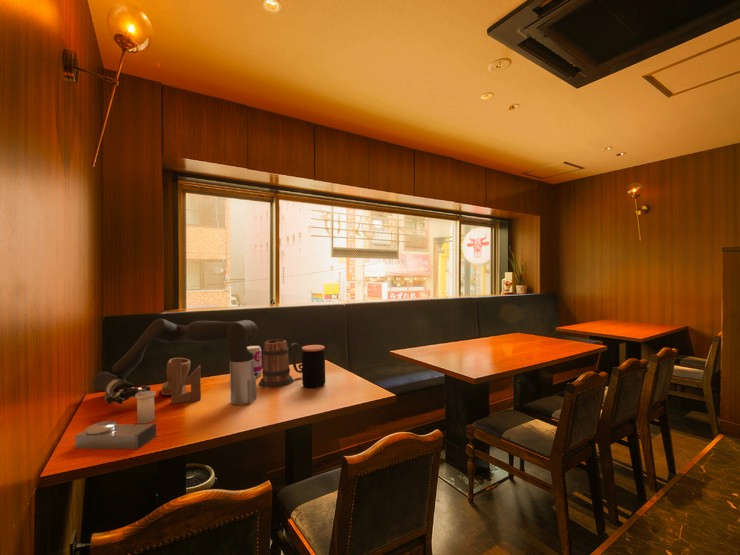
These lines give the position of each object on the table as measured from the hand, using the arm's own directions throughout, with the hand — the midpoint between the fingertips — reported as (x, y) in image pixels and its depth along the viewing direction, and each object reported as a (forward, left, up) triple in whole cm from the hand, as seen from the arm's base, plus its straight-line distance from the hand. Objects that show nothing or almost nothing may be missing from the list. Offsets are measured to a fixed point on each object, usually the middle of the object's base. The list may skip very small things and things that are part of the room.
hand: (134, 397), depth 134 cm
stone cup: (0, -26, -6) cm, 26 cm away
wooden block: (-12, -14, -6) cm, 19 cm away
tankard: (-44, -42, -6) cm, 61 cm away
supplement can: (-26, -50, -6) cm, 56 cm away
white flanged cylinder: (-9, +6, -6) cm, 13 cm away
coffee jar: (-61, -35, -6) cm, 70 cm away
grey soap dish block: (-11, +22, -6) cm, 26 cm away
